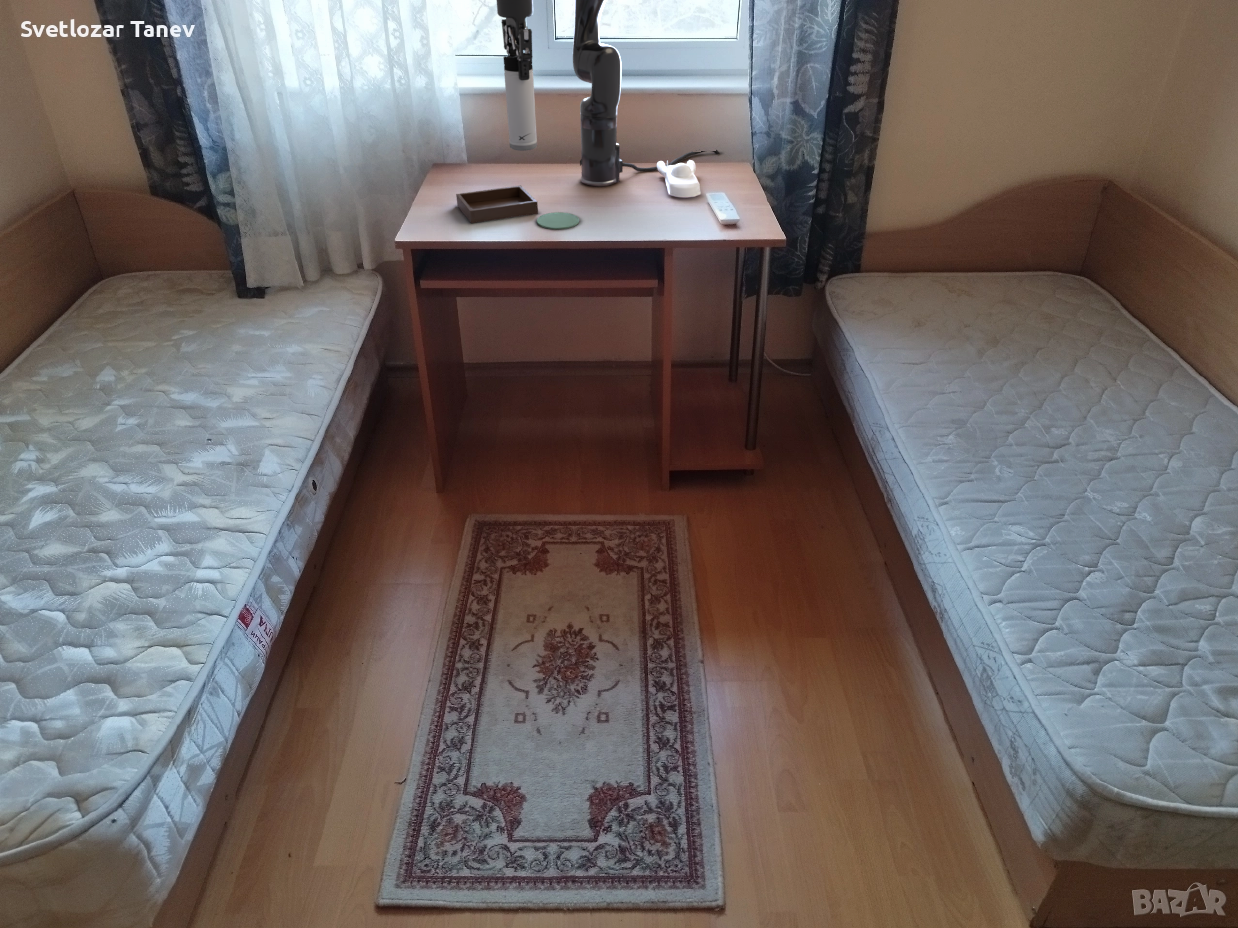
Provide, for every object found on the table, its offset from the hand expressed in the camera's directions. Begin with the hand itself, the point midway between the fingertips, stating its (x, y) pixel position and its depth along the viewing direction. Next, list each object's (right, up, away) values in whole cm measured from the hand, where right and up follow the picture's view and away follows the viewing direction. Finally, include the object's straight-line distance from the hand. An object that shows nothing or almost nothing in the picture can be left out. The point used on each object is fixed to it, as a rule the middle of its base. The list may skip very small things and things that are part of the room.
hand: (519, 76), depth 190 cm
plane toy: (+38, -13, +36) cm, 54 cm away
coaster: (+7, -27, +16) cm, 33 cm away
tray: (-8, -23, +22) cm, 33 cm away
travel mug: (0, -12, +9) cm, 15 cm away
